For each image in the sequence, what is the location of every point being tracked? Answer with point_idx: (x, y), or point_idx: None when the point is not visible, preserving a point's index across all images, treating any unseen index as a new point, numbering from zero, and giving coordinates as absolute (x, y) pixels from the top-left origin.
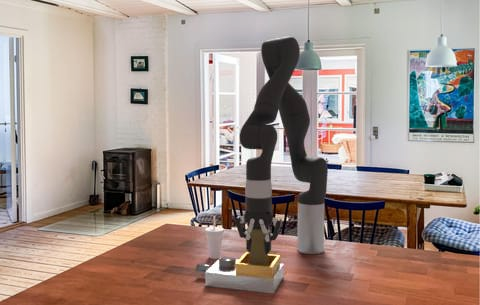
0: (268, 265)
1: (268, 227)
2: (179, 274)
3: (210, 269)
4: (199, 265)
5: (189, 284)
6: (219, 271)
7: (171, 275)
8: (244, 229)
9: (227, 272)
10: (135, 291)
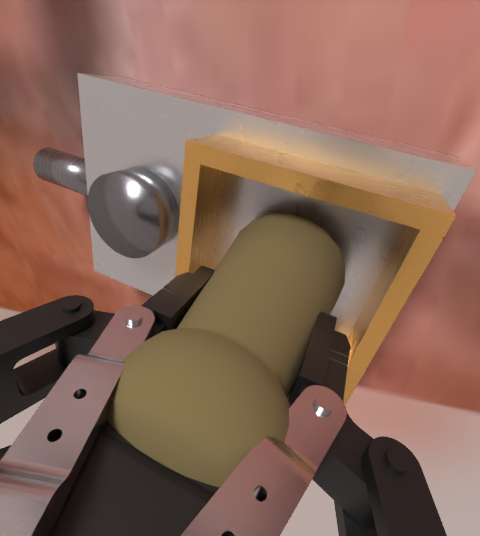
0: (339, 295)
1: (281, 527)
2: (23, 145)
3: (99, 245)
4: (46, 178)
5: (86, 236)
6: (134, 269)
7: (9, 156)
8: (41, 346)
9: (163, 282)
10: (7, 270)
